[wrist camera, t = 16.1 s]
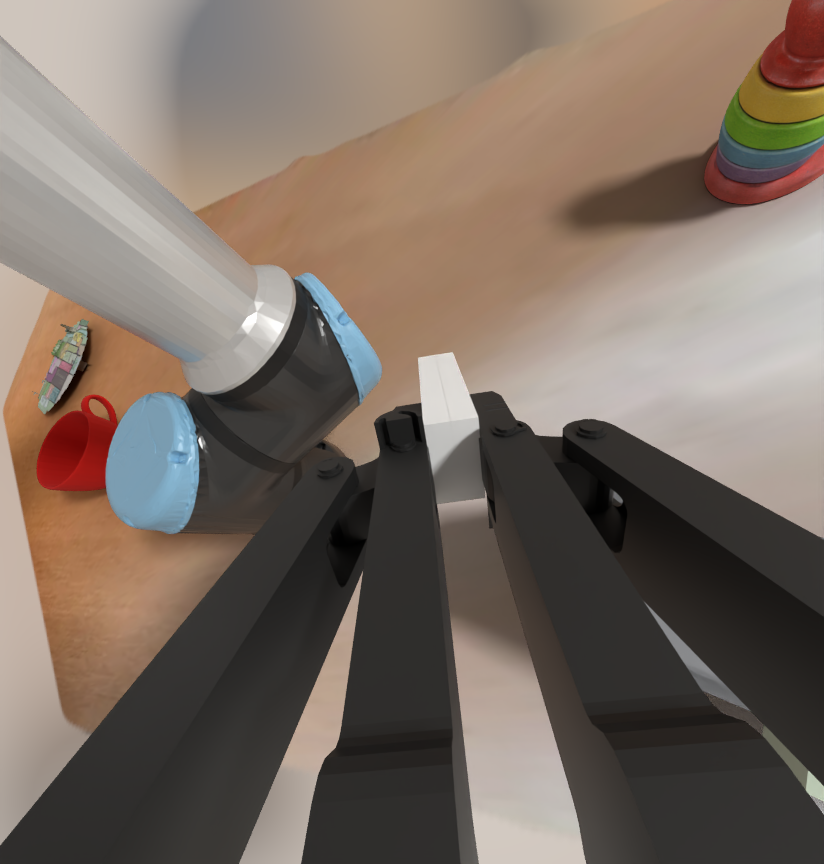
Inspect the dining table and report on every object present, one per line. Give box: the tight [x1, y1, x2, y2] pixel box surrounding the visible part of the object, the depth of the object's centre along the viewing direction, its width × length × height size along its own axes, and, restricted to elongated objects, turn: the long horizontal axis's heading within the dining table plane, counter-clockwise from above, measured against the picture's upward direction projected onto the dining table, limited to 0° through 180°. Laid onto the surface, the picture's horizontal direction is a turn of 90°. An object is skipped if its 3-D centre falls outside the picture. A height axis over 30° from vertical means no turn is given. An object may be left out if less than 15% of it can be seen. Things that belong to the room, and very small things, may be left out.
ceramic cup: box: [37, 395, 118, 491], centre depth 63 cm, size 13×17×10 cm
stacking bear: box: [704, 0, 824, 204], centre depth 32 cm, size 11×10×18 cm
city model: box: [33, 319, 89, 414], centre depth 82 cm, size 25×23×6 cm
